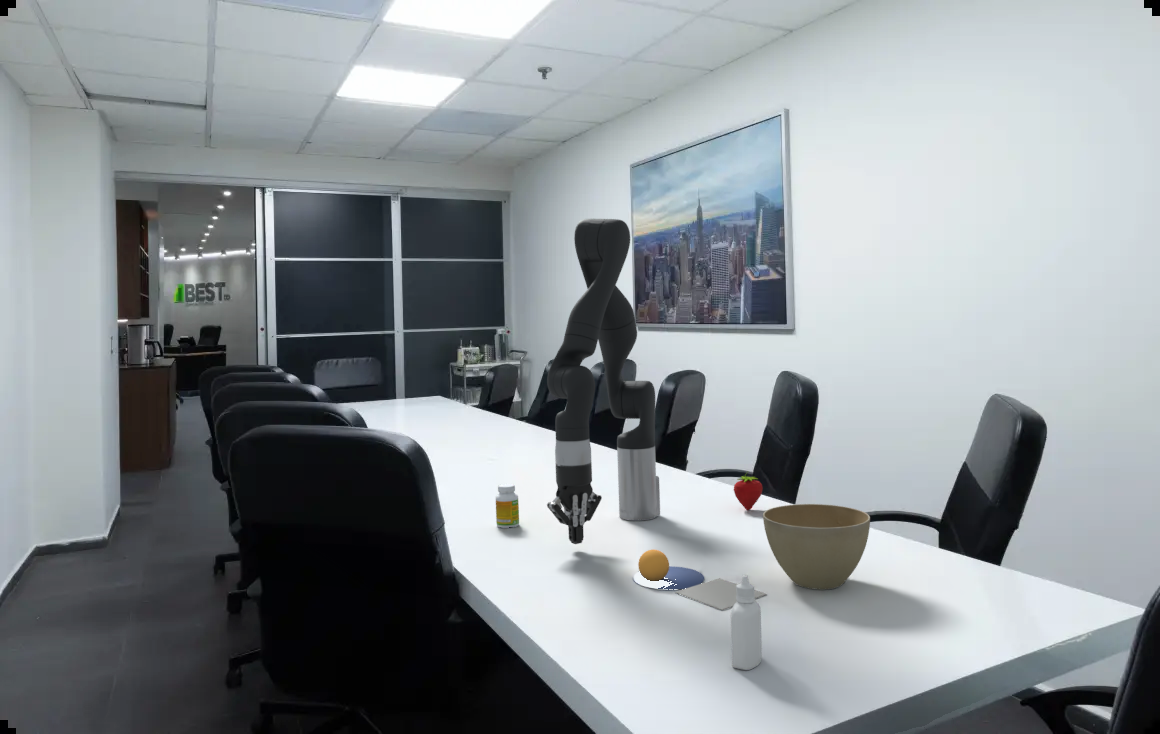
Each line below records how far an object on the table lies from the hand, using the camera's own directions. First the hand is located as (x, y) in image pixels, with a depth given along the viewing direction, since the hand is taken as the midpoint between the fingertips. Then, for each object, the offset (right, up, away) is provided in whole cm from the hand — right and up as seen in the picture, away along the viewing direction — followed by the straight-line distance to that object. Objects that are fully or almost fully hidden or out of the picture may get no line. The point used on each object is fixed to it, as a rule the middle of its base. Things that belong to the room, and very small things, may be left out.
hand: (576, 542), depth 160 cm
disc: (+17, -2, -20) cm, 26 cm away
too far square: (+25, -2, -29) cm, 38 cm away
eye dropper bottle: (+24, -4, -56) cm, 61 cm away
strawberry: (+43, +1, +30) cm, 52 cm away
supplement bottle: (-16, -1, +23) cm, 28 cm away
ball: (+14, +1, -21) cm, 25 cm away
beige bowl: (+43, -2, -25) cm, 49 cm away
